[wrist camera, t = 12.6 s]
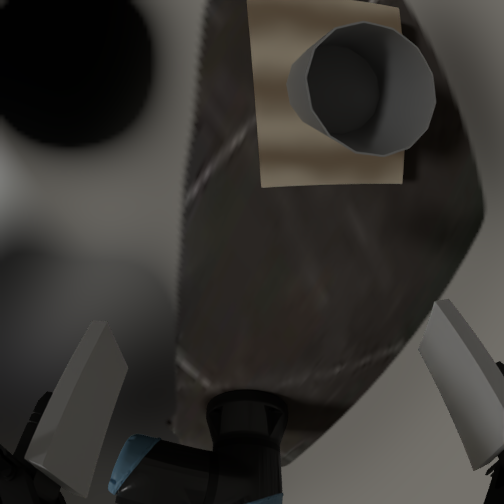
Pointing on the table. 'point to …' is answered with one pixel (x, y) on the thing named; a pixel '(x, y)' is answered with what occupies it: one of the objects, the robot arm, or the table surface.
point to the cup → (364, 89)
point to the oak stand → (277, 100)
